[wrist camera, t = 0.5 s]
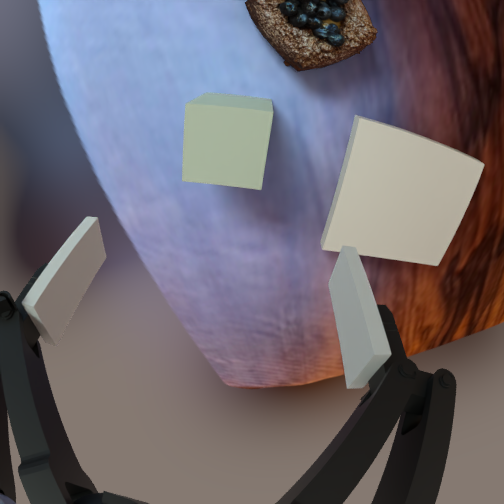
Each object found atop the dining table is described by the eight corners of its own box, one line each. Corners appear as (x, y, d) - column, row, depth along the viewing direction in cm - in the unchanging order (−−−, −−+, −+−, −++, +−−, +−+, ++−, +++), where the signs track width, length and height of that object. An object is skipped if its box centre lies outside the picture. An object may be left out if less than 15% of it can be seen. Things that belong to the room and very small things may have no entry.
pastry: (295, 82, 27) (301, 86, 22) (232, -2, 21) (224, -15, 16) (378, 43, 23) (400, 41, 18) (319, -42, 17) (330, -59, 12)
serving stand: (347, 110, 28) (359, 117, 24) (465, 151, 29) (484, 164, 25) (317, 229, 38) (322, 249, 34) (425, 247, 38) (437, 266, 35)
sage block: (206, 92, 28) (185, 103, 20) (271, 99, 28) (273, 112, 21) (201, 150, 32) (182, 181, 25) (262, 157, 32) (261, 190, 25)
